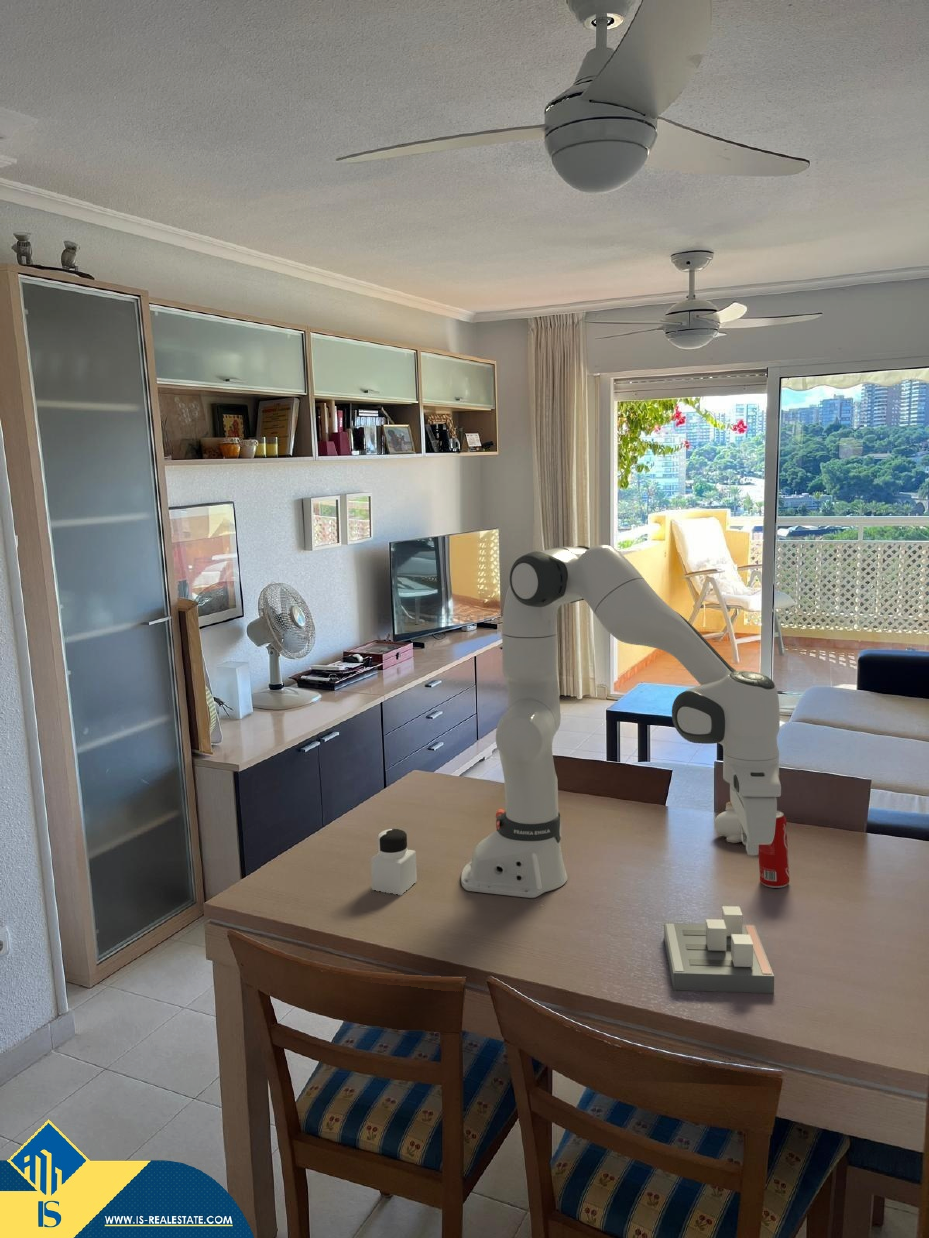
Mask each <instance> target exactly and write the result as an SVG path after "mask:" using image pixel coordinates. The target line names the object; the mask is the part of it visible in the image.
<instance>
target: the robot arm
mask: <svg viewBox="0 0 929 1238" xmlns="http://www.w3.org/2000/svg"><path fill="white" fill-rule="evenodd" d="M580 601H585V602H586V603H587V605H588V606H589V607H590V609H591V610H592V612H593V614H594V615H595V616H596V618H597V620H598V621H599V622H600V624H601V625H602V626H603V628H605V630H606V631H607V632H608V633H609V634H610V635H612V637H613V638H615V639H616V640H617V641H620V642H622V643H624V644H628V645H632V646H633V645H634V646H642V647H643V646H644V647H648V648H653V649H657V650H661V651H663V652H665V653H668V654H670V655H671V656H673V657H674V658H675V659H676V660H677V661H678V662H680V664H681V665H682V666H683V668H685V670H686V671H687V672H688V673H690V675H691V676H692V678H694V679H695V681H697V683H698V684H699V685H697V686H694V687H691V688H689V689H686V690H685V691H683V692H680V693H679V694H678V695H677V696H676V697H675V698H674V701H673V703H672V706H671V719H672V723H673V726H674V728H675V730H676V732H677V733H678V734H679V736H681V737H682V738H683V739H684V740H685V741H687V742H690V743H693V744H707V745H709V744H720V745H721V746H722V749H723V754H722V755H723V757H722V758H723V759H722V760H723V761H722V762H723V763H722V769H723V770H722V771H723V772H722V773H723V774H722V779H723V780H724V781H725V782H726V783H728V784H729V799H730V802H731V803H732V805H733V808H734V810H735V812H736V814H737V816H738V818H739V821H740V826H741V840H742V841H741V842H742V844H743V845H744V846H745V851H746V853H747V855H748V856H757V855H758V856H759V854H758V853H759V844H760V845H767V844H771V843H772V842H773V839H774V834H775V825H776V814H777V810H778V798H777V797H781V794H782V786H781V785H782V784H781V780H780V750H779V746H778V735H779V731H780V724H781V723H780V721H781V720H780V719H781V717H780V699H779V692H778V689H777V687H776V684H775V682H774V681H773V680H772V679H771V678H770V677H769V676H767V675H765V674H762V673H760V672H756V671H747V670H736V669H735V668H733V667H732V666H731V665H730V664H729V663H728V662H727V661H726V660H725V659H724V657H722V655H721V654H720V653H719V652H718V651H717V650H716V649H715V648H714V647H713V646H712V645H711V644H710V643H709V642H708V640H706V638H705V637H704V636H703V635H702V634H701V633H700V632H699V631H698V630H697V629H696V628H695V627H694V626H693V625H692V624H691V623H690V621H688V619H686V618H685V617H683V616H682V615H681V614H680V613H679V612H677V611H676V610H675V609H673V608H672V607H671V606H670V605H668V604H667V603H666V602H665V601H664V600H663V598H662V597H660V596H659V595H658V593H657V592H656V591H654V589H653V587H651V586H650V584H649V583H648V582H647V581H646V580H645V578H644V577H643V575H642V574H641V573H640V572H639V570H638V569H637V568H636V567H635V566H634V565H633V564H632V563H631V561H629V560H628V559H627V558H626V557H625V556H624V555H623V554H622V553H621V552H619V551H618V550H617V548H615V547H613V546H611V545H609V544H598V545H595V546H591V547H590V546H586V545H577V546H557V547H553V548H549V549H545V550H541V551H536V550H535V551H531V552H529V553H528V552H527V553H526V554H523V555H521V556H520V557H519V558H517V559H516V560H515V561H514V562H513V564H512V566H511V569H510V572H509V586H508V589H507V591H506V594H505V599H504V606H503V611H502V612H503V613H502V625H501V626H502V627H501V628H502V629H501V631H502V632H501V634H502V635H501V636H502V637H501V640H502V642H501V643H502V646H501V647H502V649H501V651H502V652H501V653H502V654H501V655H502V669H501V670H502V673H503V676H504V680H505V684H506V685H505V686H506V691H507V692H506V693H507V699H508V700H507V708H506V711H505V712H504V714H503V715H501V717H500V719H499V721H498V723H497V725H496V726H497V727H496V731H495V745H496V747H497V750H498V751H499V752H498V753H499V758H500V764H501V768H502V773H503V779H504V780H503V781H504V803H505V810H504V809H503V808H499V809H497V810H496V812H495V818H496V820H495V826H496V827H495V828H496V830H495V831H493V832H492V833H491V834H489V835H488V836H486V837H485V838H484V839H482V840H480V842H479V843H478V844H477V845H476V847H475V848H474V851H473V853H472V857H471V861H470V862H468V863H466V865H465V866H464V867H463V869H462V872H461V878H460V883H461V884H460V885H461V887H462V888H463V889H464V890H466V891H467V892H476V893H477V892H478V893H485V894H492V895H494V894H495V895H502V896H509V897H510V896H511V897H520V898H521V897H522V898H529V899H534V898H537V897H539V896H541V895H542V894H544V893H546V892H550V891H553V890H556V889H558V888H560V887H562V886H563V885H565V883H566V882H567V881H568V874H567V870H566V867H565V863H564V860H563V859H564V858H563V854H562V848H561V840H562V819H561V813H560V812H559V794H558V793H559V788H558V786H559V785H558V777H557V773H556V769H555V768H556V767H555V763H554V756H553V741H554V738H555V735H556V734H557V732H558V730H559V728H560V726H561V721H562V720H561V701H560V690H559V682H558V673H557V672H558V671H557V670H558V669H557V641H558V640H557V635H558V633H557V616H558V615H557V614H558V610H559V608H560V607H561V606H562V605H567V604H573V603H576V602H580Z"/></svg>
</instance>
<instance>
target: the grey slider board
mask: <svg viewBox="0 0 929 1238" xmlns="http://www.w3.org/2000/svg"><path fill="white" fill-rule="evenodd" d="M742 934H746V935H750V937H751V940H752V942H753V967H737V966H734V964H733V961H732V958H731V936H726V951H718V950H708V948H707V944H706V923H687V922H686V923H685V922H684V923H683V922H663V939H664V944H665V951H666V956H667V962H668V969H669V974H670V979H671V984H672V989H673V991H696V992H697V991H698V992H700V991H701V992H726V993H729V992H730V993H731V992H732V993H755V994H757V993H758V994H775V974H774V972H773V969H772V967H771V965H770V962H769V958H768V957H767V956H768V955H767V953H766V951H765V949H764V946H763V944H762V943H763V942H762V940H761V938H760V936H759V933H758V931H757V928H756V925H755V924H742Z"/></svg>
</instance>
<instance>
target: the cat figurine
mask: <svg viewBox="0 0 929 1238" xmlns="http://www.w3.org/2000/svg"><path fill="white" fill-rule="evenodd" d="M713 823H714V824H713V825H714V826H713V827H714V828H715V830H716V832H717V833H719V834H720V835H721V836H722V837H724V838H726V839H725V841H726V842H727V843H728V842H732V843H731V844H737V843H741V842H742V840H741V826H740V821H739V818H738V816H737V814H736V812H735V810H734V808H733V805H732V803H731V801H728V802H726V804H725V811H722V812H721V813H719V814H718V815H717V816H716V817H715V819H714V822H713Z"/></svg>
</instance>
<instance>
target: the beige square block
mask: <svg viewBox="0 0 929 1238" xmlns="http://www.w3.org/2000/svg"><path fill="white" fill-rule="evenodd" d="M705 924H706V944H707V948H708V950H718V951H726V926H725V923H724V920H722V919H714V918H713V919H709V918H707V919H705Z"/></svg>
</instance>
